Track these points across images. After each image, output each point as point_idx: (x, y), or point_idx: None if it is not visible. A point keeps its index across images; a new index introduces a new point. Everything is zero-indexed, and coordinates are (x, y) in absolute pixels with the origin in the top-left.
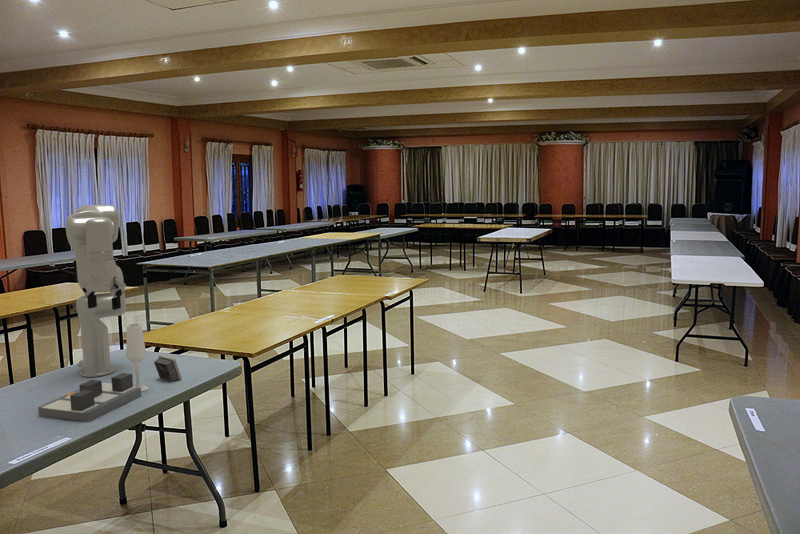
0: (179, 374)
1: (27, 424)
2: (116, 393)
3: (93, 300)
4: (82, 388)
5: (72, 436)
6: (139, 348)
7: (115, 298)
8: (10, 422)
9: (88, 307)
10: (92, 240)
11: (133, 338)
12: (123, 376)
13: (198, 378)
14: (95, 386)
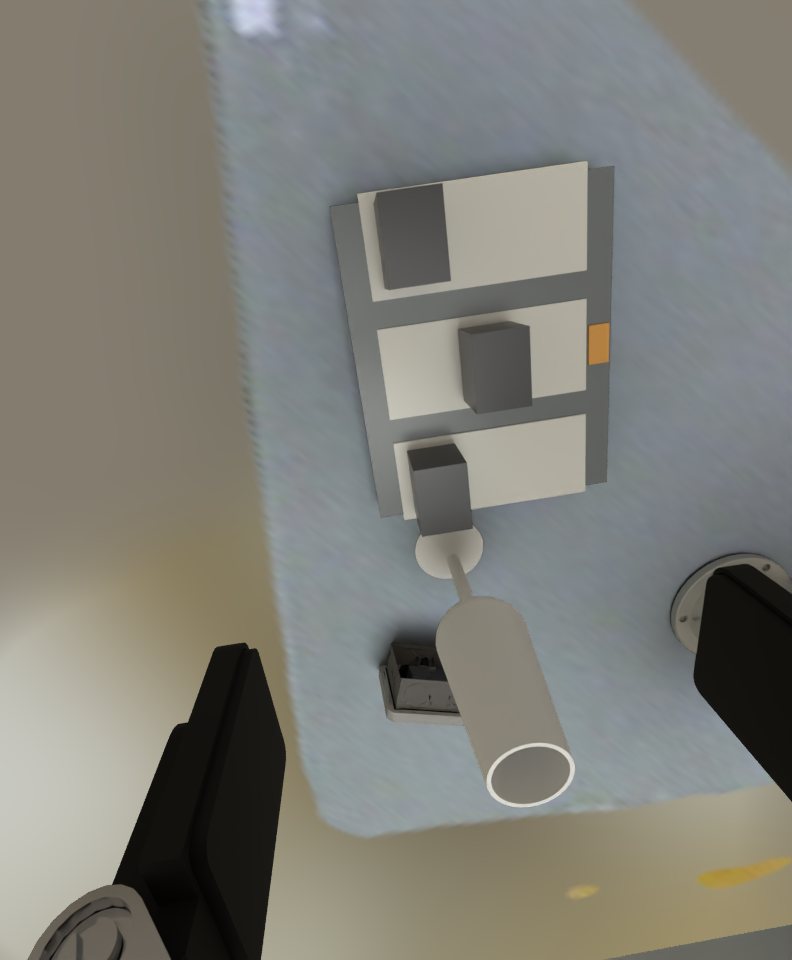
0: (380, 679)
1: (561, 72)
2: (419, 433)
3: (788, 728)
4: (507, 327)
5: (254, 48)
6: (449, 656)
7: (142, 880)
8: (653, 56)
9: (744, 566)
10: None
11: (482, 684)
12: (428, 496)
13: (332, 698)
14: (470, 372)
